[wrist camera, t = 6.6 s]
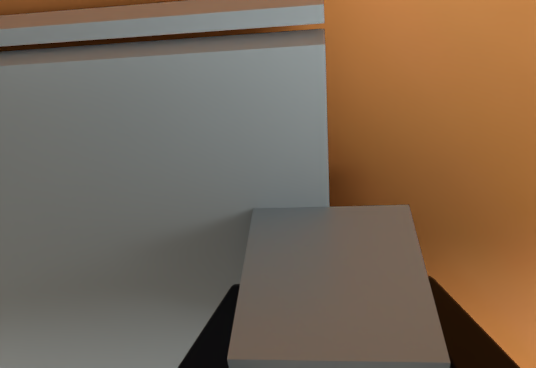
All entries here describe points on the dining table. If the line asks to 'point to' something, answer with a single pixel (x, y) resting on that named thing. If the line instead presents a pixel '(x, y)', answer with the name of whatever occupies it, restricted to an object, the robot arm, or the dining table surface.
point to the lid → (191, 199)
